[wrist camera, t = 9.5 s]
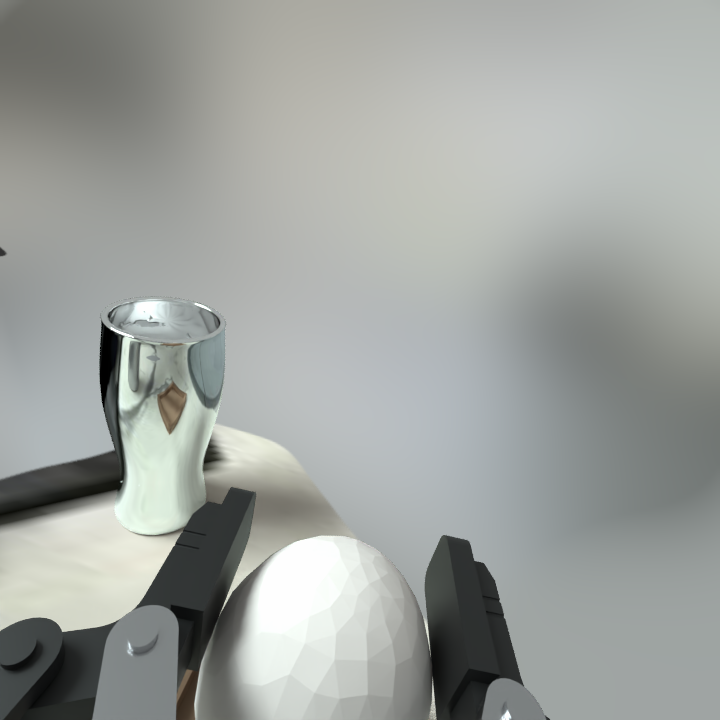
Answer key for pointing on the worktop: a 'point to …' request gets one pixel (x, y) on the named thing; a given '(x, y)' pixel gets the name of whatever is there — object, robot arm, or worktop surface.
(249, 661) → the egg
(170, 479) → the beer glass
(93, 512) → the worktop surface
